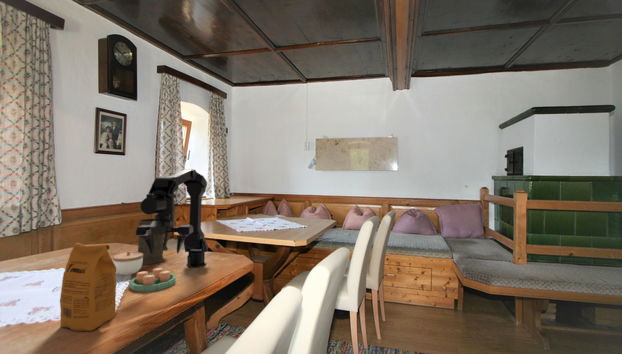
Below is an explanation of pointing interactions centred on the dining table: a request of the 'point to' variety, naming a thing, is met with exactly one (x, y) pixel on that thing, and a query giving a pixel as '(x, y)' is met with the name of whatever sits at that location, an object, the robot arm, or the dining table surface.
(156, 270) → the bead
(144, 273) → the bead
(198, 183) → the robot arm
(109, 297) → the coffee package
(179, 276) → the dining table surface
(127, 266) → the lidded jar
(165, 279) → the bead
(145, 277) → the bead
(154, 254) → the beer stein
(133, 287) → the ring tray
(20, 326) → the dining table surface
